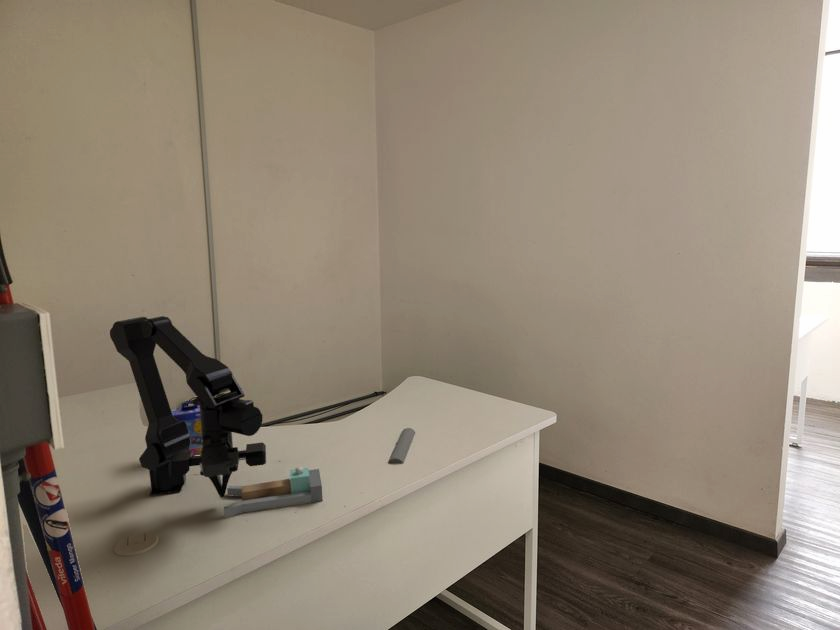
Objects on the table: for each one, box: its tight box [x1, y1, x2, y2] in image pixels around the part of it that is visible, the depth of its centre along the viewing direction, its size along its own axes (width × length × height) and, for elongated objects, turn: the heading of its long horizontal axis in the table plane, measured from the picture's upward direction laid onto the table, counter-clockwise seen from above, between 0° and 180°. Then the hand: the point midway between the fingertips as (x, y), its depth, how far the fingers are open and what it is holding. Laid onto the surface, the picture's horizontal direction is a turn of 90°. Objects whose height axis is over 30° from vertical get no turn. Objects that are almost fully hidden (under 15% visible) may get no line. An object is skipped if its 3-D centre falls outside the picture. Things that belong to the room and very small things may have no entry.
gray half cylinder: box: [387, 427, 416, 464], centre depth 142 cm, size 4×20×2 cm, turn 172°
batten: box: [241, 478, 291, 502], centre depth 116 cm, size 10×3×4 cm, turn 108°
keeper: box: [289, 466, 310, 494], centre depth 118 cm, size 4×4×6 cm
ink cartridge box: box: [170, 401, 203, 456], centre depth 139 cm, size 10×6×14 cm, turn 117°
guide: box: [223, 468, 323, 519], centre depth 117 cm, size 20×10×4 cm, turn 105°
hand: (222, 496), depth 114 cm, fingers closed
